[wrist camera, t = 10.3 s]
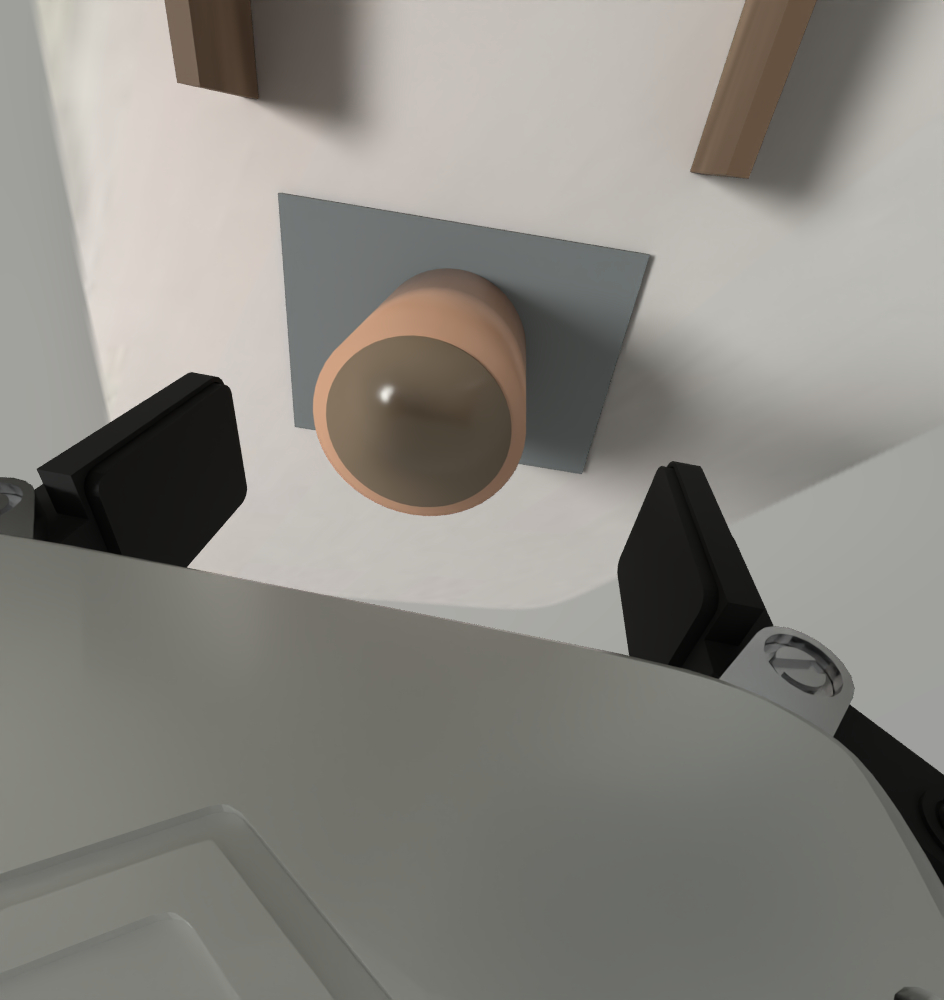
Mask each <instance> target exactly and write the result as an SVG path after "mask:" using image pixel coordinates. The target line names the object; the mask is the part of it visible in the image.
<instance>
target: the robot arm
mask: <svg viewBox="0 0 944 1000" xmlns="http://www.w3.org/2000/svg"><path fill="white" fill-rule="evenodd" d="M37 471H38V473H39V475H40V477H41V480H42V482H43V484H42V485H41V486H40V487H38V488H36V489H35V490H34V488H33V486H32V485H30V484H29V483H27V482H26V481H24V480H20V479H16V478H7V477H0V1000H944V775H943V774H942V773H941V772H939V771H938V770H937V769H935V768H934V767H932V766H931V765H930V764H929V763H927V762H926V761H924V760H923V759H922V758H920V757H919V756H918V755H916V754H915V753H914V752H912V751H911V750H910V749H908V748H907V747H906V746H904V745H903V744H902V743H900V742H899V741H898V740H896V739H895V738H894V737H892V736H891V735H890V734H888V733H887V732H885V731H884V730H883V729H882V728H880V727H879V726H877V725H876V724H875V723H874V722H872V721H871V720H870V719H868V718H867V717H866V716H864V715H863V714H862V713H860V712H859V711H858V710H856V709H855V708H854V707H852V706H851V705H850V702H851V700H852V699H853V694H854V684H853V681H852V677H851V675H850V673H849V672H848V670H847V669H846V667H845V666H844V664H843V663H842V662H841V661H840V659H839V658H838V657H837V656H836V655H835V654H834V653H833V652H832V651H831V650H829V649H828V648H827V647H825V646H824V645H823V644H821V643H820V642H819V641H817V640H815V639H813V638H811V637H810V636H808V635H806V634H804V633H802V632H799V631H796V630H793V629H790V628H786V627H779V626H773V624H772V622H771V619H770V617H769V615H768V613H767V610H766V608H765V606H764V604H763V602H762V599H761V597H760V595H759V593H758V591H757V589H756V586H755V584H754V582H753V580H752V577H751V575H750V573H749V570H748V568H747V566H746V564H745V562H744V560H743V557H742V555H741V553H740V550H739V548H738V546H737V544H736V542H735V540H734V538H733V537H732V535H731V533H730V530H729V528H728V526H727V524H726V521H725V519H724V517H723V515H722V512H721V510H720V508H719V506H718V503H717V501H716V499H715V497H714V495H713V492H712V490H711V488H710V486H709V483H708V481H707V479H706V477H705V474H704V472H703V470H702V468H701V467H700V466H696V465H690V464H685V463H679V462H674V461H672V462H670V463H669V465H668V466H667V467H664V466H661V467H659V468H658V470H657V472H656V474H655V476H654V479H653V481H652V484H651V486H650V488H649V491H648V493H647V495H646V498H645V500H644V502H643V505H642V507H641V510H640V512H639V514H638V517H637V519H636V521H635V524H634V526H633V528H632V531H631V533H630V535H629V538H628V540H627V543H626V545H625V547H624V550H623V552H622V554H621V557H620V560H619V563H618V571H617V573H618V581H619V588H620V594H621V602H622V609H623V615H624V622H625V630H626V637H627V644H628V650H629V656H627V655H623V654H618V653H614V652H609V651H604V650H599V649H594V648H589V647H584V646H579V645H574V644H569V643H564V642H560V641H555V640H549V639H545V638H540V637H535V636H530V635H524V634H520V633H515V632H510V631H505V630H500V629H495V628H490V627H485V626H480V625H475V624H470V623H465V622H460V621H455V620H450V619H445V618H440V617H435V616H430V615H425V614H419V613H415V612H410V611H405V610H400V609H395V608H390V607H385V606H380V605H375V604H369V603H364V602H359V601H354V600H349V599H344V598H339V597H334V596H329V595H324V594H319V593H314V592H308V591H303V590H298V589H293V588H288V587H283V586H278V585H273V584H268V583H263V582H257V581H252V580H247V579H242V578H237V577H232V576H227V575H222V574H217V573H212V572H206V571H201V570H196V569H191V568H187V566H188V565H189V564H190V563H191V562H192V561H193V559H194V558H195V557H196V556H197V555H198V554H199V553H200V551H201V550H202V549H203V548H204V547H205V546H206V544H207V543H208V542H209V541H210V540H211V539H212V537H213V536H214V535H215V534H216V533H217V532H218V531H219V529H220V528H221V527H222V526H223V525H224V524H225V522H226V521H227V520H228V519H229V518H230V517H231V515H232V514H233V513H234V512H235V511H236V510H237V508H238V507H239V506H240V505H241V504H242V503H243V501H244V499H245V497H246V493H247V484H246V478H245V472H244V466H243V460H242V454H241V447H240V441H239V435H238V429H237V423H236V417H235V411H234V405H233V399H232V393H231V390H230V388H229V387H228V386H227V385H224V383H223V381H222V380H221V379H220V378H219V377H215V376H209V375H204V374H198V373H193V372H190V373H188V374H186V375H184V376H183V377H181V378H180V379H178V380H176V381H175V382H173V383H172V384H170V385H169V386H167V387H165V388H164V389H162V390H161V391H159V392H158V393H156V394H154V395H153V396H151V397H150V398H148V399H146V400H145V401H143V402H142V403H140V404H139V405H137V406H135V407H134V408H132V409H131V410H129V411H128V412H126V413H124V414H123V415H121V416H120V417H118V418H116V419H115V420H113V421H112V422H110V423H109V424H107V425H105V426H104V427H102V428H101V429H99V430H98V431H96V432H94V433H93V434H91V435H90V436H88V437H86V438H85V439H83V440H82V441H80V442H79V443H77V444H75V445H74V446H72V447H71V448H69V449H68V450H66V451H64V452H63V453H61V454H60V455H58V456H57V457H55V458H53V459H52V460H50V461H49V462H47V463H45V464H44V465H42V466H41V467H39V468H38V469H37Z"/></svg>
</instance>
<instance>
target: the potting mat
mask: <svg viewBox="0 0 944 1000" xmlns="http://www.w3.org/2000/svg"><path fill="white" fill-rule="evenodd" d="M278 200H279V214H280V228H281V242H282V256H283V270H284V284H285V298H286V311H287V325H288V339H289V353H290V367H291V381H292V395H293V409H294V423H295V427H299V428H305V429H311V430H316V428H315V424H314V416H313V398H314V392H315V386H316V383H317V380H318V377H319V374H320V372H321V370H322V368H323V366H324V364H325V362H326V361H327V360H328V358H329V357H330V356H331V354H332V353H333V352H334V350H335V349H336V348H337V347H339V346H340V345H341V344H342V343H343V342H344V341H345V340H346V339H347V338H348V337H349V336H350V335H351V334H352V333H353V332H354V331H355V330H356V329H357V328H358V327H359V326H360V325H361V324H362V323H363V322H364V321H365V320H366V319H367V318H368V317H369V316H370V315H371V314H372V313H373V312H374V311H375V310H376V309H377V308H378V307H379V306H380V305H381V304H382V303H383V302H384V301H385V300H386V299H387V298H388V297H389V296H390V295H391V294H392V293H393V292H394V291H395V290H396V289H397V288H398V287H399V286H400V285H401V284H402V283H404V282H405V281H406V280H408V279H410V278H411V277H413V276H415V275H417V274H420V273H423V272H425V271H429V270H434V269H443V268H451V269H460V270H464V271H469V272H472V273H474V274H477V275H479V276H481V277H483V278H485V279H487V280H488V281H490V282H491V283H493V284H494V285H495V286H497V287H498V288H499V289H500V290H501V291H502V292H503V293H504V294H505V295H506V296H507V297H508V299H509V300H510V301H511V302H512V304H513V305H514V307H515V309H516V311H517V312H518V314H519V317H520V319H521V322H522V324H523V328H524V332H525V338H526V438H525V445H524V449H523V452H522V456H521V459H520V461H519V463H518V464H523V465H529V466H536V467H542V468H548V469H554V470H560V471H566V472H572V473H578V474H582V472H583V469H584V466H585V462H586V459H587V456H588V453H589V450H590V446H591V443H592V440H593V437H594V433H595V430H596V427H597V424H598V420H599V417H600V414H601V411H602V408H603V404H604V401H605V398H606V395H607V391H608V388H609V385H610V382H611V379H612V375H613V372H614V369H615V366H616V362H617V359H618V356H619V353H620V350H621V346H622V343H623V340H624V337H625V333H626V330H627V327H628V324H629V321H630V317H631V314H632V311H633V308H634V304H635V301H636V298H637V295H638V291H639V288H640V285H641V282H642V279H643V275H644V272H645V269H646V266H647V262H648V259H649V256H650V255H649V254H644V253H638V252H632V251H626V250H620V249H614V248H608V247H602V246H596V245H590V244H584V243H578V242H572V241H566V240H560V239H554V238H548V237H542V236H536V235H530V234H524V233H518V232H512V231H506V230H500V229H494V228H488V227H482V226H476V225H470V224H464V223H458V222H452V221H446V220H440V219H434V218H428V217H423V216H417V215H411V214H405V213H399V212H393V211H387V210H381V209H375V208H369V207H363V206H357V205H351V204H345V203H339V202H333V201H327V200H321V199H315V198H309V197H303V196H297V195H291V194H285V193H278Z"/></svg>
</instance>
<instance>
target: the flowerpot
mask: <svg viewBox="0 0 944 1000" xmlns="http://www.w3.org/2000/svg"><path fill="white" fill-rule="evenodd" d="M313 416H314V424H315V428H316V432H317V436H318V439H319V441H320V444H321V446H322V449H323V451H324V453H325V454H326V456H327V458H328V460H329V461H330V463H331V464H332V466H333V467H334V468H335V470H336V471H337V472H338V473H339V474H340V475H341V477H342V478H343V479H344V480H345V481H346V482H347V483H348V484H350V485H351V486H352V487H353V488H354V489H355V490H357V491H358V492H359V493H361V494H362V495H364V496H365V497H367V498H369V499H370V500H372V501H374V502H375V503H378V504H380V505H382V506H384V507H387V508H389V509H393V510H396V511H399V512H403V513H407V514H413V515H422V516H439V515H448V514H453V513H458V512H461V511H464V510H467V509H470V508H472V507H474V506H477V505H479V504H481V503H483V502H484V501H486V500H487V499H489V498H490V497H492V496H493V495H494V494H495V493H496V492H498V491H499V490H500V489H501V488H502V487H503V486H504V485H505V483H506V482H507V481H508V480H509V479H510V477H511V476H512V474H513V473H514V471H515V469H516V467H517V465H518V463H519V461H520V459H521V456H522V452H523V449H524V445H525V438H526V338H525V332H524V328H523V324H522V322H521V319H520V317H519V314H518V312H517V311H516V309H515V307H514V305H513V304H512V302H511V301H510V300H509V299H508V297H507V296H506V295H505V294H504V293H503V292H502V291H501V290H500V289H499V288H498V287H497V286H495V285H494V284H493V283H491V282H490V281H488V280H487V279H485V278H483V277H481V276H479V275H477V274H474V273H472V272H469V271H464V270H460V269H451V268H443V269H434V270H429V271H425V272H423V273H420V274H417V275H415V276H413V277H411V278H410V279H408V280H406V281H405V282H404V283H402V284H401V285H400V286H399V287H398V288H397V289H396V290H395V291H394V292H393V293H392V294H391V295H390V296H389V297H388V298H387V299H386V300H385V301H384V302H383V303H382V304H381V305H380V306H379V307H378V308H377V309H376V310H375V311H374V312H373V313H372V314H371V315H370V316H369V317H368V318H367V319H366V320H365V321H364V322H363V323H362V324H361V325H360V326H359V327H358V328H357V329H356V330H355V331H354V332H353V333H352V334H351V335H350V336H349V337H348V338H347V339H346V340H345V341H344V342H343V343H342V344H341V345H340V346H339V347H337V348H336V349H335V350H334V352H333V353H332V354H331V356H330V357H329V358H328V360H327V361H326V362H325V364H324V366H323V368H322V370H321V372H320V374H319V377H318V380H317V383H316V386H315V392H314V398H313Z"/></svg>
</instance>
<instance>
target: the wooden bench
mask: <svg viewBox="0 0 944 1000" xmlns="http://www.w3.org/2000/svg"><path fill="white" fill-rule="evenodd" d="M816 1H817V0H746V1H745V4H744V7H743V10H742V13H741V16H740V20H739V23H738V26H737V29H736V32H735V35H734V38H733V41H732V44H731V47H730V50H729V54H728V57H727V60H726V63H725V66H724V69H723V72H722V75H721V78H720V81H719V84H718V87H717V91H716V94H715V97H714V100H713V103H712V106H711V109H710V112H709V115H708V118H707V121H706V125H705V128H704V131H703V134H702V137H701V140H700V143H699V146H698V149H697V152H696V155H695V158H694V162H693V165H692V168H691V171H690V172H694V173H700V174H706V175H714V176H725V177H736V178H747V179H749V176H750V173H751V171H752V168H753V166H754V163H755V160H756V158H757V155H758V152H759V150H760V147H761V145H762V142H763V139H764V137H765V134H766V132H767V129H768V126H769V124H770V121H771V118H772V116H773V113H774V111H775V108H776V105H777V103H778V100H779V98H780V95H781V92H782V90H783V87H784V84H785V82H786V79H787V77H788V74H789V71H790V69H791V66H792V64H793V61H794V58H795V56H796V53H797V50H798V48H799V45H800V43H801V40H802V37H803V35H804V32H805V30H806V27H807V24H808V22H809V19H810V16H811V14H812V11H813V9H814V6H815V3H816ZM165 6H166V13H167V19H168V26H169V32H170V39H171V45H172V52H173V58H174V65H175V71H176V78H177V83H181V84H186V85H191V86H195V87H200V88H204V89H209V90H214V91H218V92H223V93H227V94H232V95H237V96H242V97H248V98H253V99H258V87H257V75H256V63H255V51H254V39H253V27H252V15H251V3H250V0H165Z"/></svg>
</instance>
